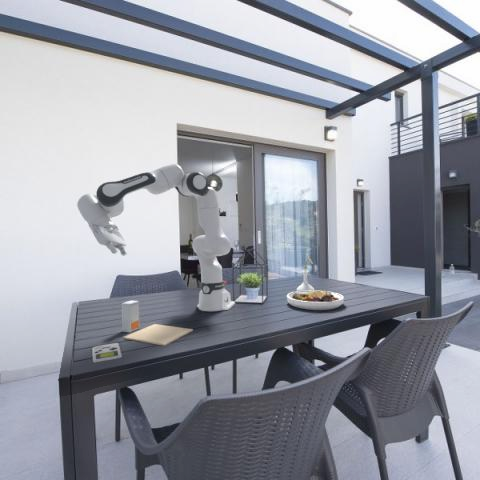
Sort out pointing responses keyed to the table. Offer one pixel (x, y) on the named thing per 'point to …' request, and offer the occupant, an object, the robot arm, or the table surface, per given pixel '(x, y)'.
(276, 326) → the table surface
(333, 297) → the bowl
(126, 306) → the skincare box
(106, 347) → the handheld gaming device
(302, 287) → the flower in vase
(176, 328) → the mat
